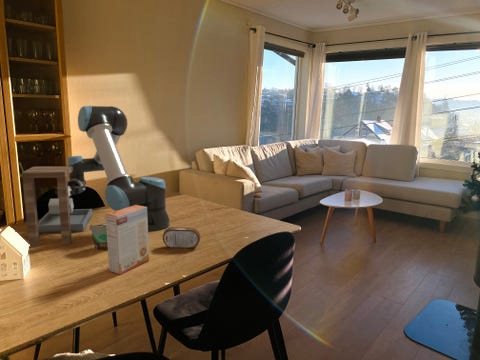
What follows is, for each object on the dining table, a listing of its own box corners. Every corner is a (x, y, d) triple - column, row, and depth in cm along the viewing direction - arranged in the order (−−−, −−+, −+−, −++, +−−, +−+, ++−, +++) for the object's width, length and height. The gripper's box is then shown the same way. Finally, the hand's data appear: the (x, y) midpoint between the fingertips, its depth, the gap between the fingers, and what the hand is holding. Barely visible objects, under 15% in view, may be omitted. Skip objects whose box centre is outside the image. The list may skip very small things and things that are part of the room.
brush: (72, 213, 161) (70, 204, 158) (50, 213, 159) (48, 205, 156) (77, 191, 173) (76, 182, 170) (57, 191, 171) (55, 183, 168)
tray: (83, 231, 160) (83, 223, 160) (35, 233, 156) (34, 225, 155) (92, 215, 183) (91, 208, 182) (50, 217, 178) (49, 210, 178)
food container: (92, 253, 137) (90, 228, 135) (90, 247, 143) (89, 223, 141) (125, 248, 143) (124, 224, 141) (122, 243, 148) (121, 220, 146)
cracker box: (137, 257, 135) (136, 203, 131) (149, 261, 132) (148, 206, 128) (107, 271, 123) (104, 213, 119) (119, 275, 121) (117, 216, 116)
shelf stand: (69, 245, 145) (64, 172, 138) (28, 247, 141) (21, 172, 135) (77, 233, 158) (72, 166, 152) (39, 235, 154) (33, 166, 148)
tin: (200, 246, 148) (200, 226, 146) (199, 249, 145) (199, 229, 143) (163, 245, 147) (163, 226, 145) (162, 248, 144) (161, 228, 142)
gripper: (90, 193, 189) (82, 201, 167) (57, 194, 185) (44, 202, 163) (90, 179, 188) (81, 185, 166) (56, 180, 184) (43, 186, 162)
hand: (63, 193), depth 164 cm, fingers closed on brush, 3 cm apart
